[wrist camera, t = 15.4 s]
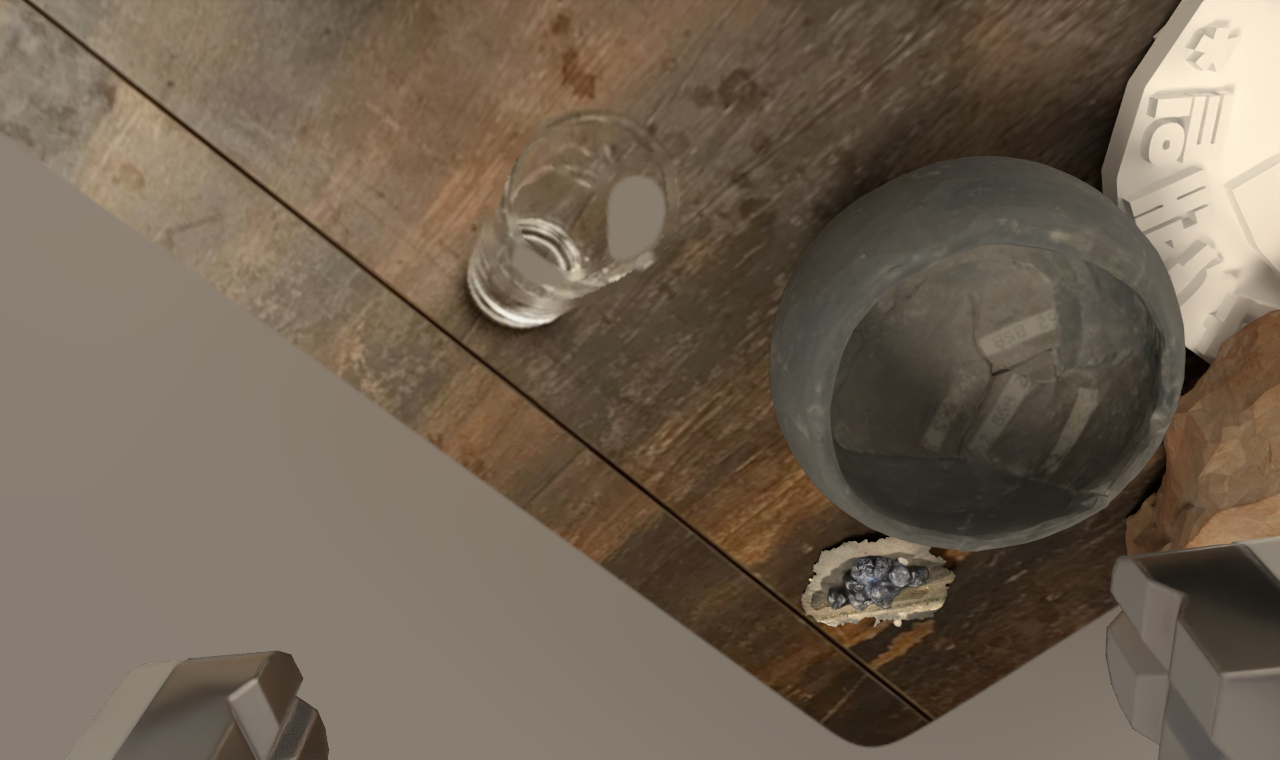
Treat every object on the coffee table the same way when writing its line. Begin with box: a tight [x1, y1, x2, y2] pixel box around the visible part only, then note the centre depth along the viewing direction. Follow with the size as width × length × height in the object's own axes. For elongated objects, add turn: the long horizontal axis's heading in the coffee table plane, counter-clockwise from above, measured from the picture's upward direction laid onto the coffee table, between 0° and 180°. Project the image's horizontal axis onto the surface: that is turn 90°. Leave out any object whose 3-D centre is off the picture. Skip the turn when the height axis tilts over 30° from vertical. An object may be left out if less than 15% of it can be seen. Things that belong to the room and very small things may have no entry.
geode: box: [801, 536, 956, 627], centre depth 46 cm, size 7×8×2 cm
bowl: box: [769, 156, 1186, 551], centre depth 35 cm, size 15×15×10 cm
